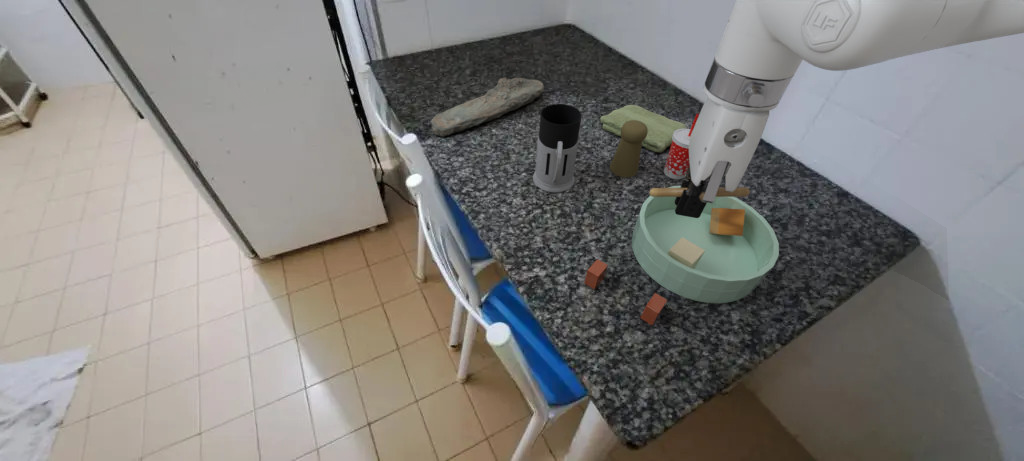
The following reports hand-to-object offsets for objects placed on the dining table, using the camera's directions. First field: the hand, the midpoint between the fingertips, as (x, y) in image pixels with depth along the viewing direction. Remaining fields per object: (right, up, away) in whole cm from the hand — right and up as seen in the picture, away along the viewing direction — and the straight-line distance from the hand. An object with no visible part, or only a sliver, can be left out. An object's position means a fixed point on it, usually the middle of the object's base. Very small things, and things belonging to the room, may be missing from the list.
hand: (686, 209), depth 54 cm
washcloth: (+7, +21, +41) cm, 47 cm away
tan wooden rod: (0, +2, -2) cm, 3 cm away
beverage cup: (+11, +9, +30) cm, 34 cm away
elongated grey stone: (-30, +28, +47) cm, 62 cm away
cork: (0, +10, +31) cm, 33 cm away
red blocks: (-7, -14, +8) cm, 17 cm away
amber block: (+13, -4, +15) cm, 20 cm away
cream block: (+4, -9, +11) cm, 15 cm away
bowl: (+8, -7, +15) cm, 18 cm away
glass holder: (-16, +6, +26) cm, 31 cm away
